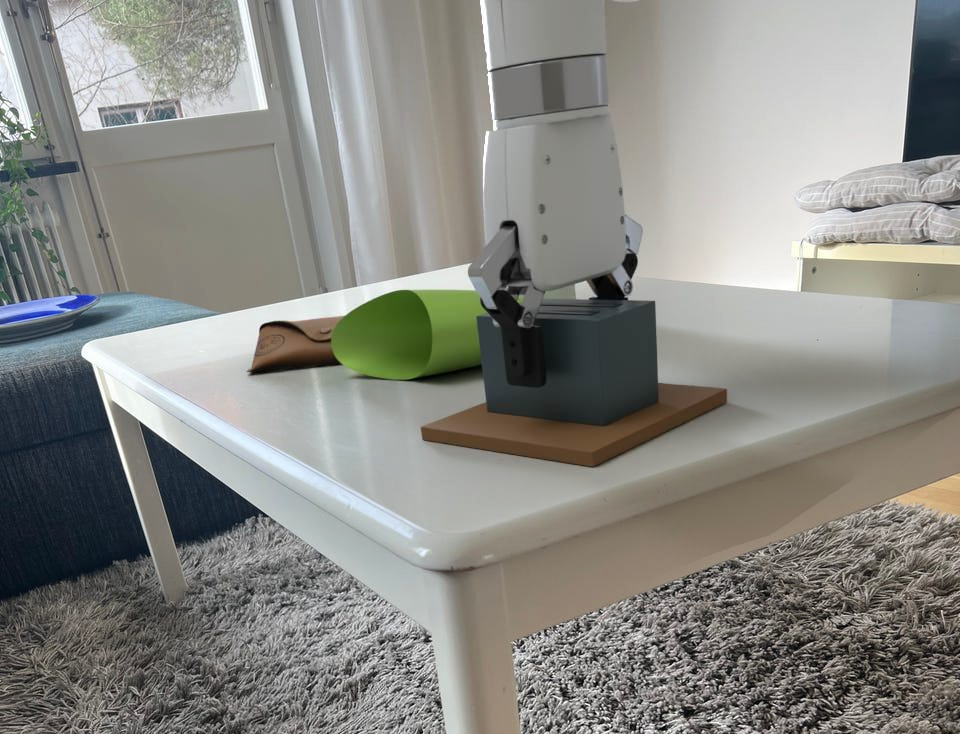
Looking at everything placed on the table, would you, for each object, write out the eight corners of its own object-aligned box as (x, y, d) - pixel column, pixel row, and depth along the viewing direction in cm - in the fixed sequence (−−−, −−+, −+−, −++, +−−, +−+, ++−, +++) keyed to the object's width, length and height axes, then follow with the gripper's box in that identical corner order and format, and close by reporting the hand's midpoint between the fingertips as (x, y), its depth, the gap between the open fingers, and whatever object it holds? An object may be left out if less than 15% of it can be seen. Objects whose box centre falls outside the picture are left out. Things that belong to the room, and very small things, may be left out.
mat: (727, 401, 71) (727, 388, 71) (593, 467, 62) (592, 452, 61) (559, 386, 82) (558, 374, 81) (422, 439, 72) (420, 426, 72)
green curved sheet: (346, 288, 82) (567, 270, 87) (325, 302, 93) (521, 285, 98) (359, 384, 84) (574, 361, 89) (337, 387, 95) (528, 366, 100)
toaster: (475, 410, 74) (463, 314, 71) (531, 389, 78) (522, 297, 75) (604, 426, 66) (597, 319, 63) (659, 401, 70) (655, 299, 67)
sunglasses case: (241, 371, 102) (238, 309, 102) (264, 391, 109) (261, 333, 109) (411, 353, 99) (407, 289, 100) (423, 375, 106) (419, 315, 107)
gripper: (587, 95, 70) (602, 340, 78) (411, 115, 59) (449, 395, 67) (676, 81, 65) (682, 344, 73) (501, 100, 54) (531, 404, 62)
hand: (570, 368), depth 70 cm, fingers open, 9 cm apart
